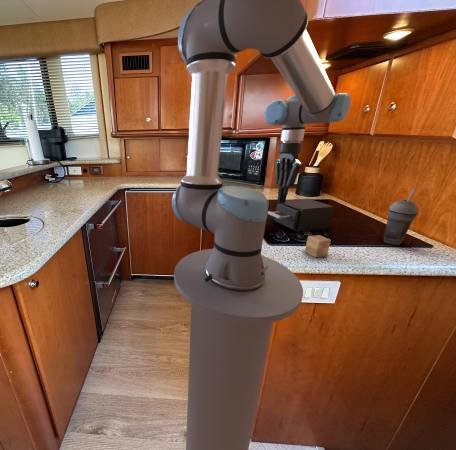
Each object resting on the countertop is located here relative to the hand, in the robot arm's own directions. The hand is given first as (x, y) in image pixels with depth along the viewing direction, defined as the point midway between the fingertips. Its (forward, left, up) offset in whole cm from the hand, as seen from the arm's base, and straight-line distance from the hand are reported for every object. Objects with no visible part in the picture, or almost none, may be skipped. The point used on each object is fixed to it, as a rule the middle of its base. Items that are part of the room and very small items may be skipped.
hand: (281, 202), depth 97 cm
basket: (+7, 0, -10) cm, 12 cm away
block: (-4, -24, -11) cm, 27 cm away
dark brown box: (+12, 0, -11) cm, 16 cm away
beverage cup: (+29, -23, -11) cm, 39 cm away
